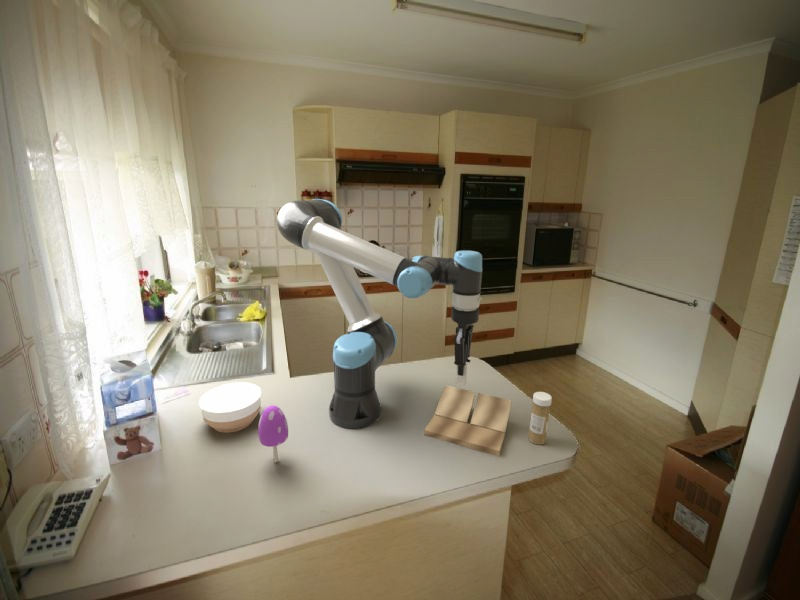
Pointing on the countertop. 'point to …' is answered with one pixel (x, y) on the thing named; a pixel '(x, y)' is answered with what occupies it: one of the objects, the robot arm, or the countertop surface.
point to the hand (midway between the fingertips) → (461, 383)
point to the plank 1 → (455, 404)
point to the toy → (273, 429)
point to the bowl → (231, 406)
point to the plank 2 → (491, 412)
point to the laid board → (465, 434)
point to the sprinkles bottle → (539, 417)
